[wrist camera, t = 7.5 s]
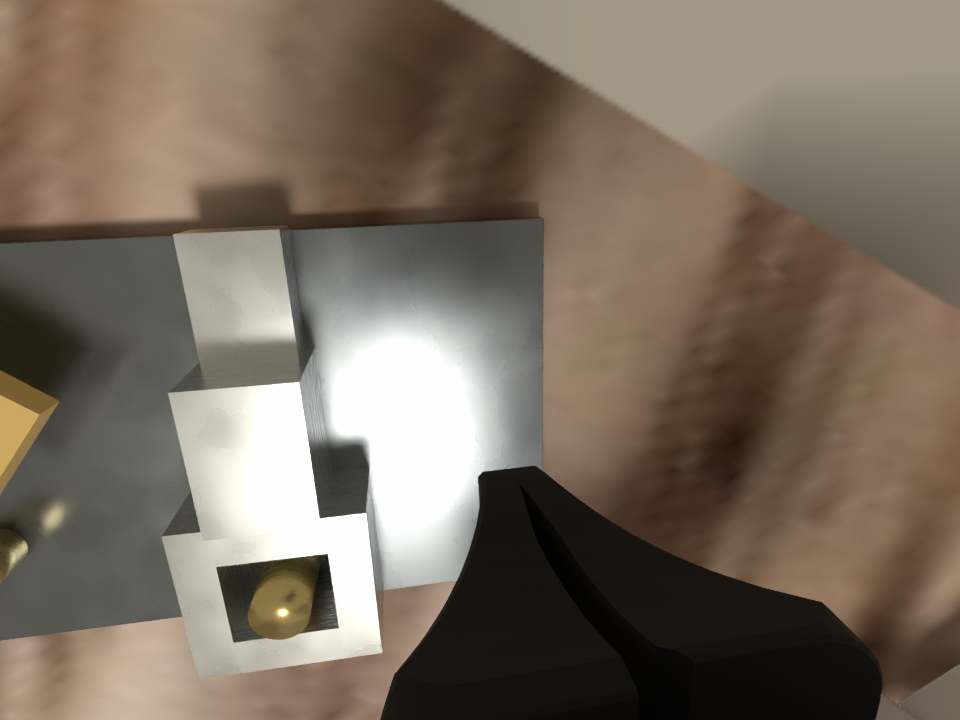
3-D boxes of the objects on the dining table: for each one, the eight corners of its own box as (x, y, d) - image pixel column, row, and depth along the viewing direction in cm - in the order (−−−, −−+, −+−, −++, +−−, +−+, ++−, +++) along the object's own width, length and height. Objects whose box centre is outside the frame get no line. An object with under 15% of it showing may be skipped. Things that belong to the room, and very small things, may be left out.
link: (383, 594, 23) (381, 664, 20) (223, 615, 22) (194, 692, 19) (342, 222, 18) (330, 232, 15) (134, 231, 17) (73, 245, 14)
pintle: (325, 567, 22) (313, 635, 19) (274, 573, 22) (253, 643, 19) (319, 525, 22) (305, 588, 18) (266, 531, 21) (242, 596, 18)
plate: (537, 557, 25) (541, 569, 24) (-32, 630, 22) (-48, 646, 21) (537, 217, 20) (543, 218, 19) (-194, 250, 17) (-221, 254, 16)
